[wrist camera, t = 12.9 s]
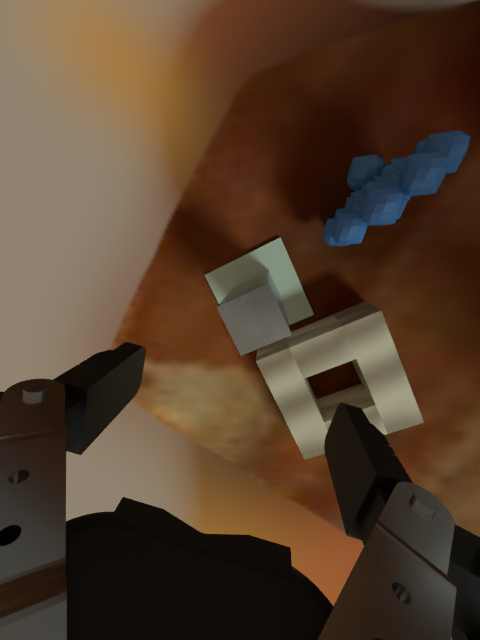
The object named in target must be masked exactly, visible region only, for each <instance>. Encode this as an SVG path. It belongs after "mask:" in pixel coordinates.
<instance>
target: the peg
mask: <svg viewBox="0 0 480 640" xmlns="http://www.w3.org/2000/svg"><path fill="white" fill-rule="evenodd" d="M217 309H218V311H219V313H220V315H221V317H222V319H223V321H224V323H225V325H226V327H227V329H228V331H229V333H230V335H231V337H232V339H233V341H234V343H235V345H236V347H237V349H238V351H239V353H240V355H241V356H242V355H244V354H247V353H249V352H251V351H254V350H256V349H259V348H261V347H264V346H266V345H268V344H271V343H273V342H276V341H278V340H281V339H283V338H286V337H288V336H290V335H292V333H291V329H290V325H289V321H288V317H287V313H286V309H285V305H284V303H283V300H282V298H281V296H280V294H279V291H278V289H277V287H276V285H275V282H274V280H273V278H272V276H271V274H270V271H269V270H268V271H266V272H264V273H262V274H260V275H257V276H255V277H253V278H251V279H249V280H247V281H245V282H243V283H240V284H238V285H236V286H235V287H234V288H233V289H232V290H231V291H230V292H229V293H228V295H227V296H226V297H225V298H224V299H223V300H222V301H221V303H220V304H219V305H218V306H217Z"/></svg>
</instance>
